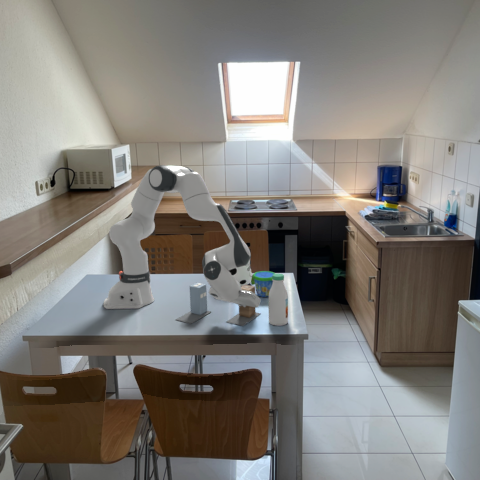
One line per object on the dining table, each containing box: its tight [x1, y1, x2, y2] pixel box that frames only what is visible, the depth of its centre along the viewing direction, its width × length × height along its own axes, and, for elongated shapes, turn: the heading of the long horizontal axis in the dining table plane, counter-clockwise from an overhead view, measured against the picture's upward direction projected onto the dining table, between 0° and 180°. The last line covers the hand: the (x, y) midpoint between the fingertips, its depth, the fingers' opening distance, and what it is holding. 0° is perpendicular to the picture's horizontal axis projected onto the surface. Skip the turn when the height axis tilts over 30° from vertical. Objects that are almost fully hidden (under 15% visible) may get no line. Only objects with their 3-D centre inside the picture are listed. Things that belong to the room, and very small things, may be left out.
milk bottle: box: [268, 273, 289, 327], centre depth 188 cm, size 8×8×20 cm
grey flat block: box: [175, 310, 212, 325], centre depth 198 cm, size 14×8×1 cm, turn 148°
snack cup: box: [250, 270, 276, 298], centre depth 220 cm, size 16×10×10 cm
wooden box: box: [238, 284, 257, 318], centre depth 196 cm, size 5×5×12 cm
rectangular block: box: [189, 282, 208, 315], centre depth 200 cm, size 5×5×12 cm
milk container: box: [229, 259, 253, 286], centre depth 234 cm, size 17×17×18 cm
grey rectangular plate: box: [225, 312, 261, 327], centre depth 195 cm, size 14×8×1 cm, turn 148°
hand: (243, 305), depth 194 cm, fingers closed, pressing on wooden box
